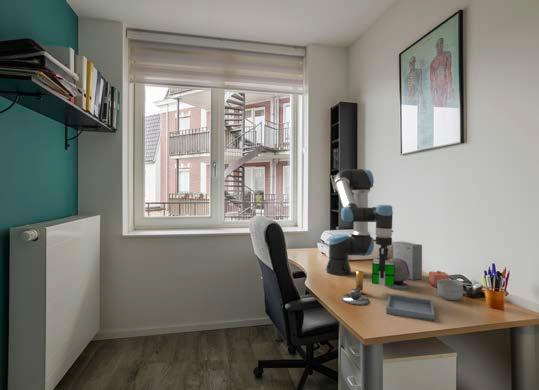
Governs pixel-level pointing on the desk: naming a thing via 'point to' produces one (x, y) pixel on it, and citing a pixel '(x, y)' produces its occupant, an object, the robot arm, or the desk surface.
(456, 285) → the teacup
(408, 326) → the desk surface
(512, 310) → the desk surface
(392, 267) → the puzzle cube
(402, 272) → the webcam
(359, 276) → the crank lever
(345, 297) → the crank base
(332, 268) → the robot arm
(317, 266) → the desk surface
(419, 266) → the hard drive box
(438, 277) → the pink cube teapot
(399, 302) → the tray
